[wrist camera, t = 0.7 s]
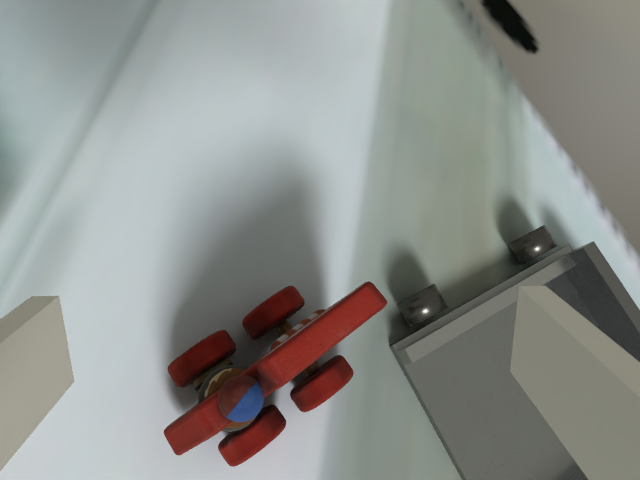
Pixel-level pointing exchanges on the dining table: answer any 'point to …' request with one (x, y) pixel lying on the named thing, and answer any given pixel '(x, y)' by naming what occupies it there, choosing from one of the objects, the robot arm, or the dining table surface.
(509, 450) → the chassis bay
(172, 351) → the dining table surface
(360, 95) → the dining table surface
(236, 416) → the red plastic toy vehicle
